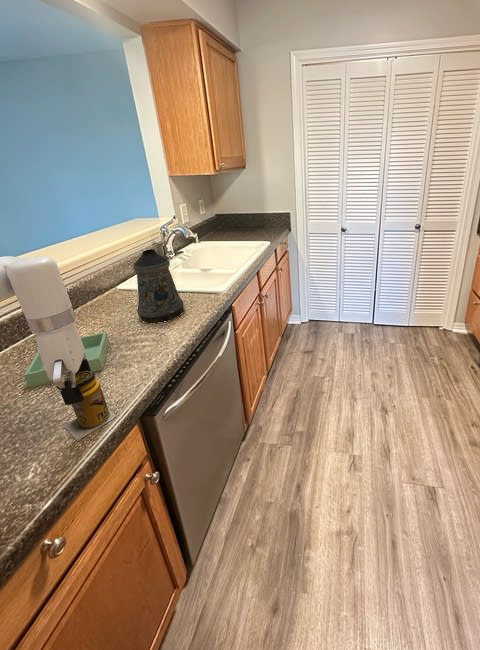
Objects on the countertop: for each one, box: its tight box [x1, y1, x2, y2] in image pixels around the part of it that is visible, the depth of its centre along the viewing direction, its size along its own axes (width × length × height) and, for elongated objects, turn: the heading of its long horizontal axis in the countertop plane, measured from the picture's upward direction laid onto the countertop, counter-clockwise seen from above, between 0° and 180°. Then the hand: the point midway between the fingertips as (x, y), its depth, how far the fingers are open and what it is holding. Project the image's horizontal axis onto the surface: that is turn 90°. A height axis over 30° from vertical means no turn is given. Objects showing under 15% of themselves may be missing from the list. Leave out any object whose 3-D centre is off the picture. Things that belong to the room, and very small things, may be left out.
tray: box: [23, 331, 110, 388], centre depth 96 cm, size 18×17×4 cm
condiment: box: [63, 371, 118, 442], centre depth 72 cm, size 7×8×12 cm
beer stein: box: [132, 248, 185, 324], centre depth 121 cm, size 16×19×25 cm
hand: (80, 388), depth 71 cm, fingers open, 9 cm apart
